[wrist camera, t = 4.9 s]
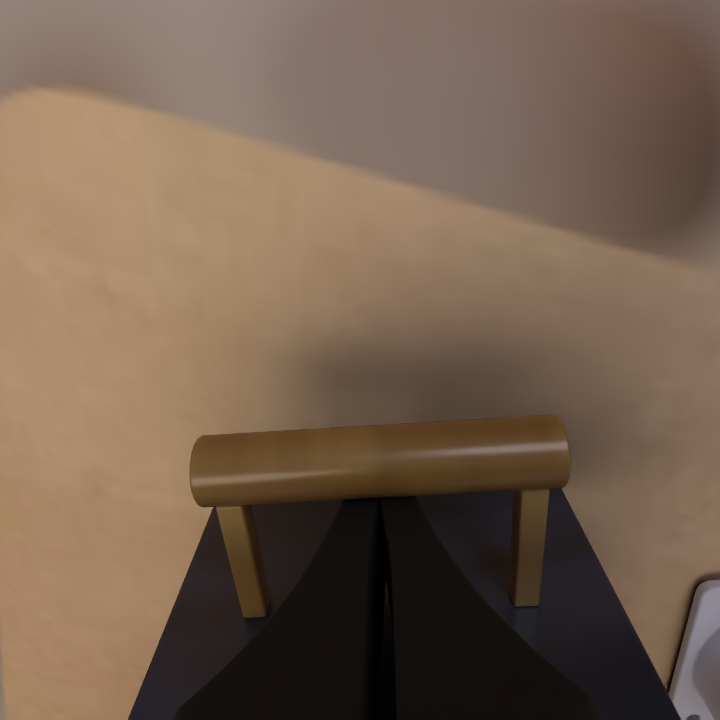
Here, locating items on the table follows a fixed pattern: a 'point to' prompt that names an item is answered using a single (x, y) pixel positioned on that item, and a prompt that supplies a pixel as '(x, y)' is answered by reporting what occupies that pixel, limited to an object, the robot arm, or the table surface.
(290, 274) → the table surface
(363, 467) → the drawer
